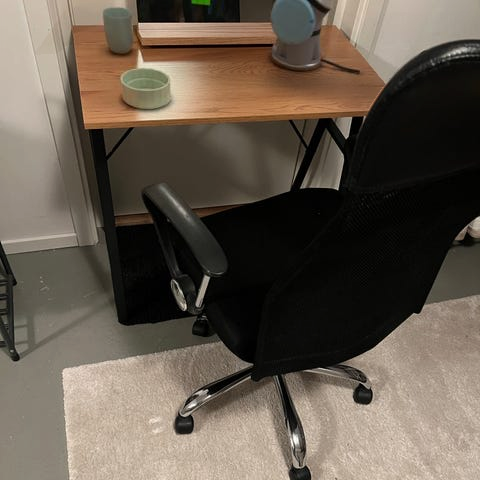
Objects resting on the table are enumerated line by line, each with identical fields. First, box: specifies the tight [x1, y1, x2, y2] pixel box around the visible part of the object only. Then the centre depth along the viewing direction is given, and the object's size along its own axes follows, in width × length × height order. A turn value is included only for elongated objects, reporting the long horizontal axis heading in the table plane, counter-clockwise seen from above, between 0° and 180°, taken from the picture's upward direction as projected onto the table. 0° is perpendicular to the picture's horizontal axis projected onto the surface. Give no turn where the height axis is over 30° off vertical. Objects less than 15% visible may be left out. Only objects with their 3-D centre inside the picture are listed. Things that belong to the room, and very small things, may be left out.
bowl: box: [119, 67, 172, 110], centre depth 117 cm, size 12×12×5 cm
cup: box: [102, 6, 134, 55], centre depth 131 cm, size 8×8×10 cm
